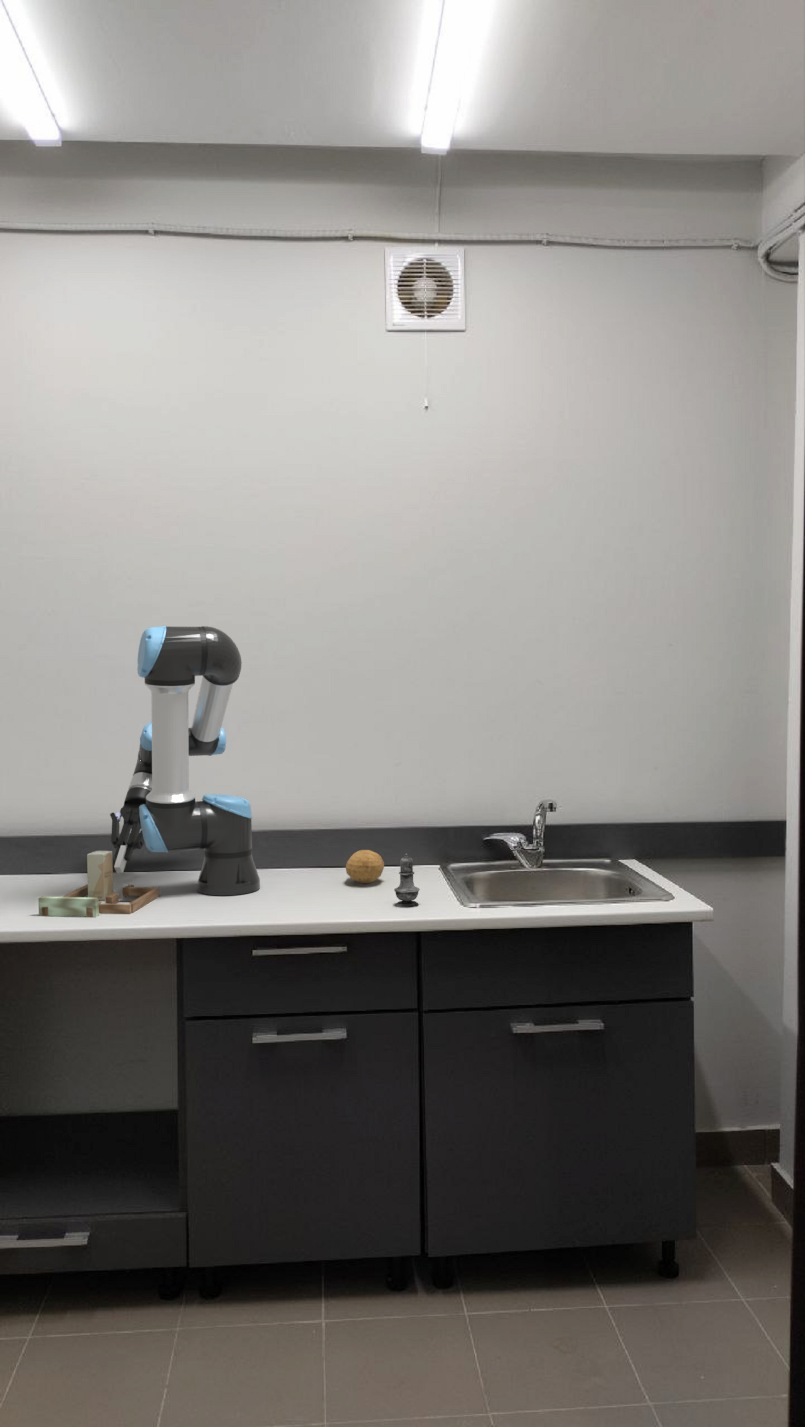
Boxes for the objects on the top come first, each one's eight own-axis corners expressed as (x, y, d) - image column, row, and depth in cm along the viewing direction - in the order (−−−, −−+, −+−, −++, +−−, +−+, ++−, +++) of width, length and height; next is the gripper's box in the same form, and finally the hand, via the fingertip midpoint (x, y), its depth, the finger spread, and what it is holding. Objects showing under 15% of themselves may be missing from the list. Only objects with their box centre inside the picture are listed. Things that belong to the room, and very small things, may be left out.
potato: (382, 876, 286) (381, 845, 286) (386, 887, 272) (385, 855, 272) (344, 877, 285) (344, 846, 285) (346, 889, 271) (346, 856, 271)
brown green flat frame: (163, 893, 269) (163, 877, 268) (125, 917, 245) (124, 899, 245) (84, 891, 272) (84, 875, 271) (38, 915, 248) (38, 898, 248)
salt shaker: (401, 908, 250) (400, 856, 249) (389, 903, 255) (389, 852, 254) (424, 905, 253) (423, 853, 252) (412, 900, 258) (411, 849, 257)
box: (104, 900, 262) (102, 854, 261) (87, 900, 263) (85, 854, 262) (114, 896, 267) (112, 850, 266) (97, 895, 268) (96, 850, 267)
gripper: (169, 802, 293) (147, 879, 278) (122, 802, 295) (98, 877, 280) (161, 785, 287) (139, 862, 272) (114, 785, 289) (88, 861, 274)
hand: (118, 870), depth 276 cm, fingers closed
